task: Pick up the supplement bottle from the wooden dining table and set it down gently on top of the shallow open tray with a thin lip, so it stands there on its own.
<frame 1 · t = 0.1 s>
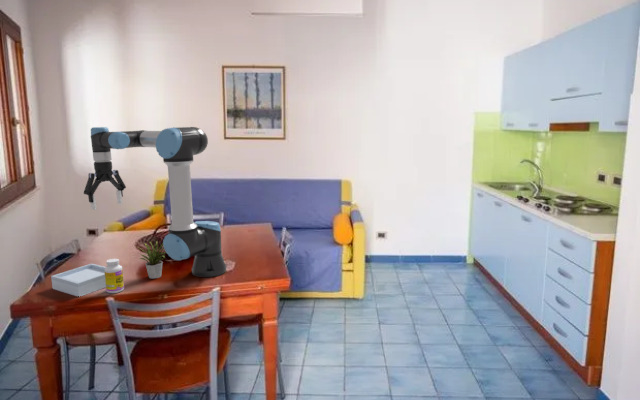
hand: (107, 206, 213), 28 cm above the table, tool pointing down, fingers open, 13 cm apart
supplement bottle: (115, 291, 184), on the table
house plant: (158, 276, 200), on the table
shallow open tray: (86, 285, 190), on the table
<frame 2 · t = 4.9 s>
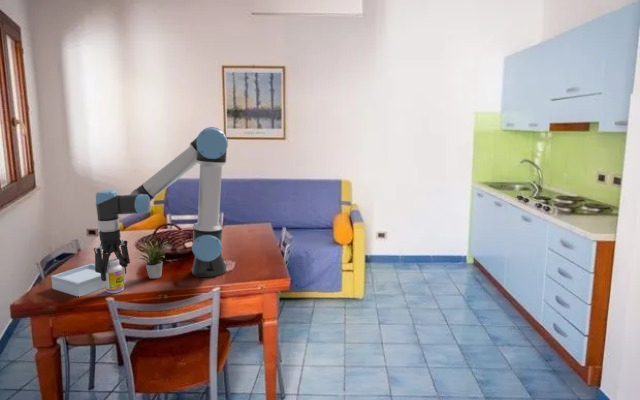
hand: (114, 284, 184), 3 cm above the table, tool pointing down, fingers closed on supplement bottle, 7 cm apart
supplement bottle: (115, 291, 184), on the table, touching gripper
everything else where it was.
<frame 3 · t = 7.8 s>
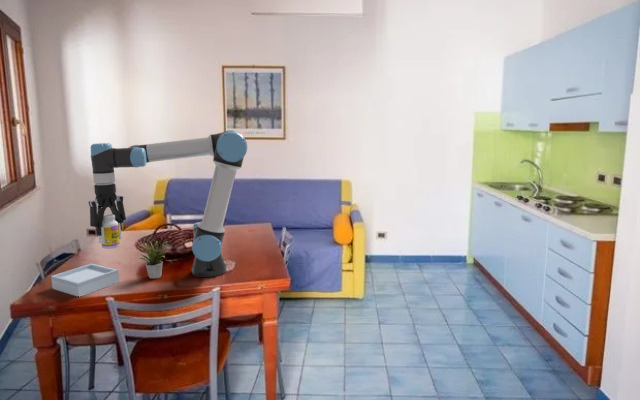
hand: (110, 240, 180), 21 cm above the table, tool pointing down, fingers closed on supplement bottle, 7 cm apart
supplement bottle: (111, 247, 181), point 18 cm above the table, touching gripper
everything else where it was.
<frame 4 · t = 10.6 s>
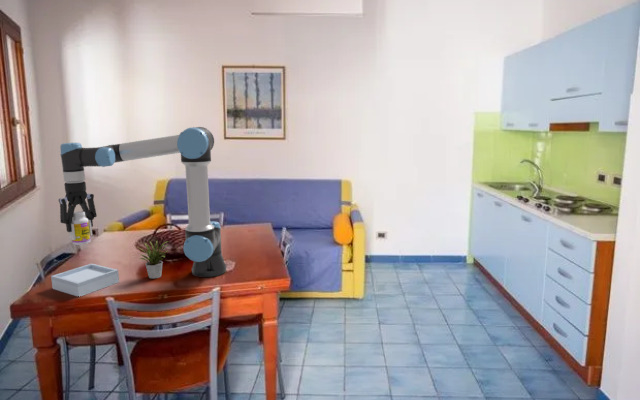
hand: (81, 237, 186), 21 cm above the table, tool pointing down, fingers closed on supplement bottle, 7 cm apart
supplement bottle: (81, 243, 187), point 18 cm above the table, touching gripper
everything else where it was.
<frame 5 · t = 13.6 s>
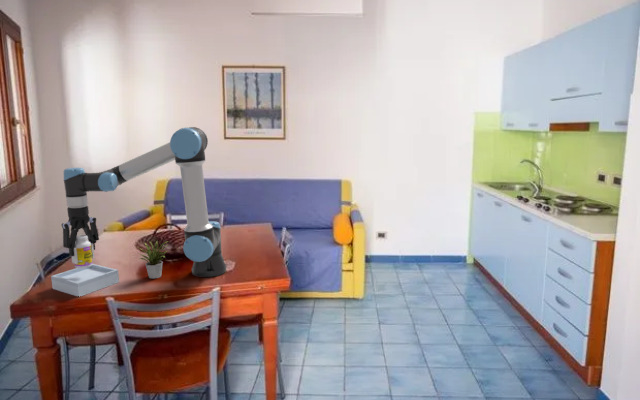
hand: (83, 260, 188), 11 cm above the table, tool pointing down, fingers closed on supplement bottle, 7 cm apart
supplement bottle: (84, 266, 189), point 8 cm above the table, touching gripper
everything else where it was.
when the fingers open (7 cm above the table, at t = 16.3 s): supplement bottle stays where it is, resting on shallow open tray.
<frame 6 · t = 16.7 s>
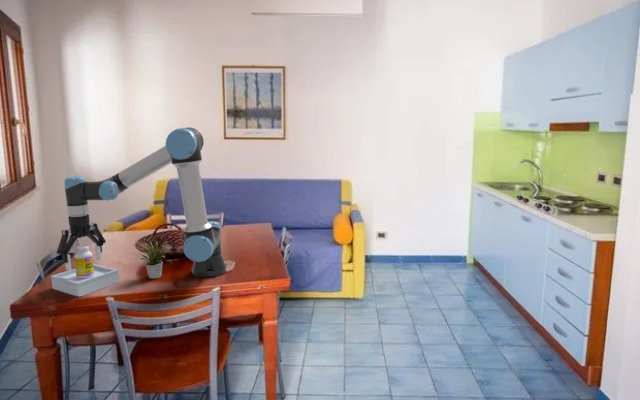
hand: (84, 265, 189), 9 cm above the table, tool pointing down, fingers open, 13 cm apart
supplement bottle: (85, 276, 190), point 4 cm above the table, touching shallow open tray
everything else where it was.
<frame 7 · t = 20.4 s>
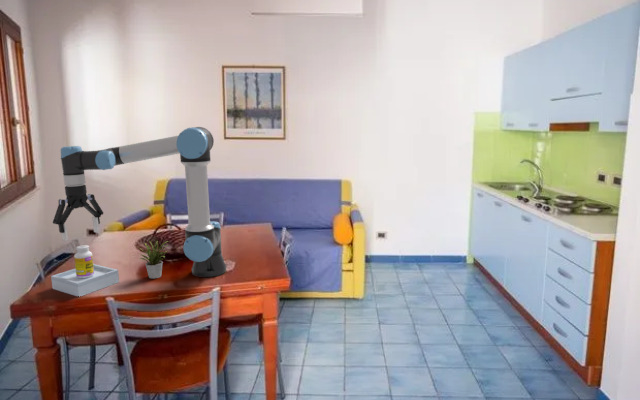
hand: (81, 236, 186), 21 cm above the table, tool pointing down, fingers open, 13 cm apart
nothing on the table moved.
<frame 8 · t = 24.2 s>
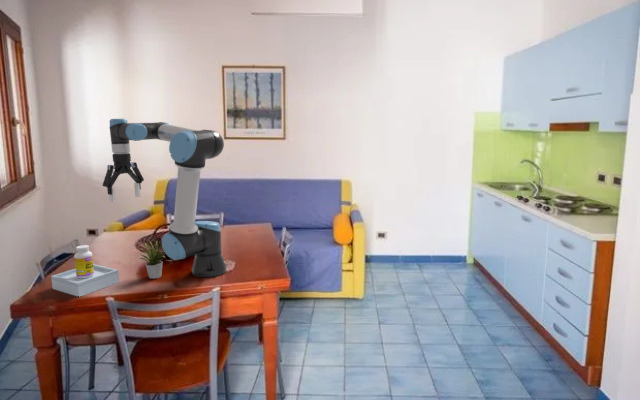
hand: (125, 199, 210), 32 cm above the table, tool pointing down, fingers open, 13 cm apart
nothing on the table moved.
at the end: supplement bottle inside the target area on the shallow open tray (0.1 cm from its centre), point 3.8 cm above the shallow open tray's base; supplement bottle tilted 0°; the gripper is holding nothing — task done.
